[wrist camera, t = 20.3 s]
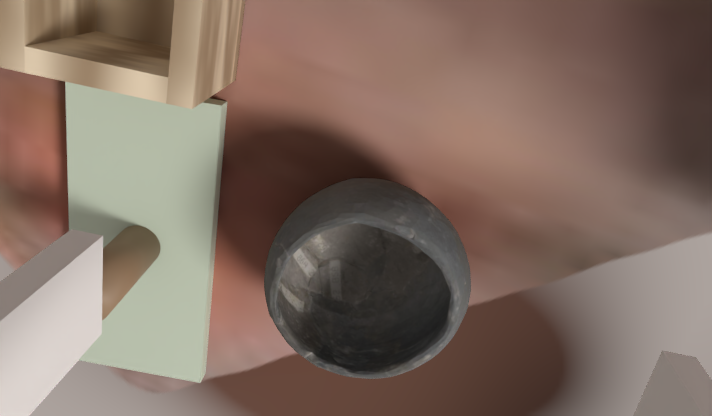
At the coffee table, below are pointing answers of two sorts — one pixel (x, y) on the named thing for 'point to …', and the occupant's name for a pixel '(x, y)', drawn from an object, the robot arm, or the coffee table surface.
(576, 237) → the coffee table surface
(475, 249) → the coffee table surface
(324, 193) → the bowl
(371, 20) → the coffee table surface
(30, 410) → the robot arm
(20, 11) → the toolbox
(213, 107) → the lid
